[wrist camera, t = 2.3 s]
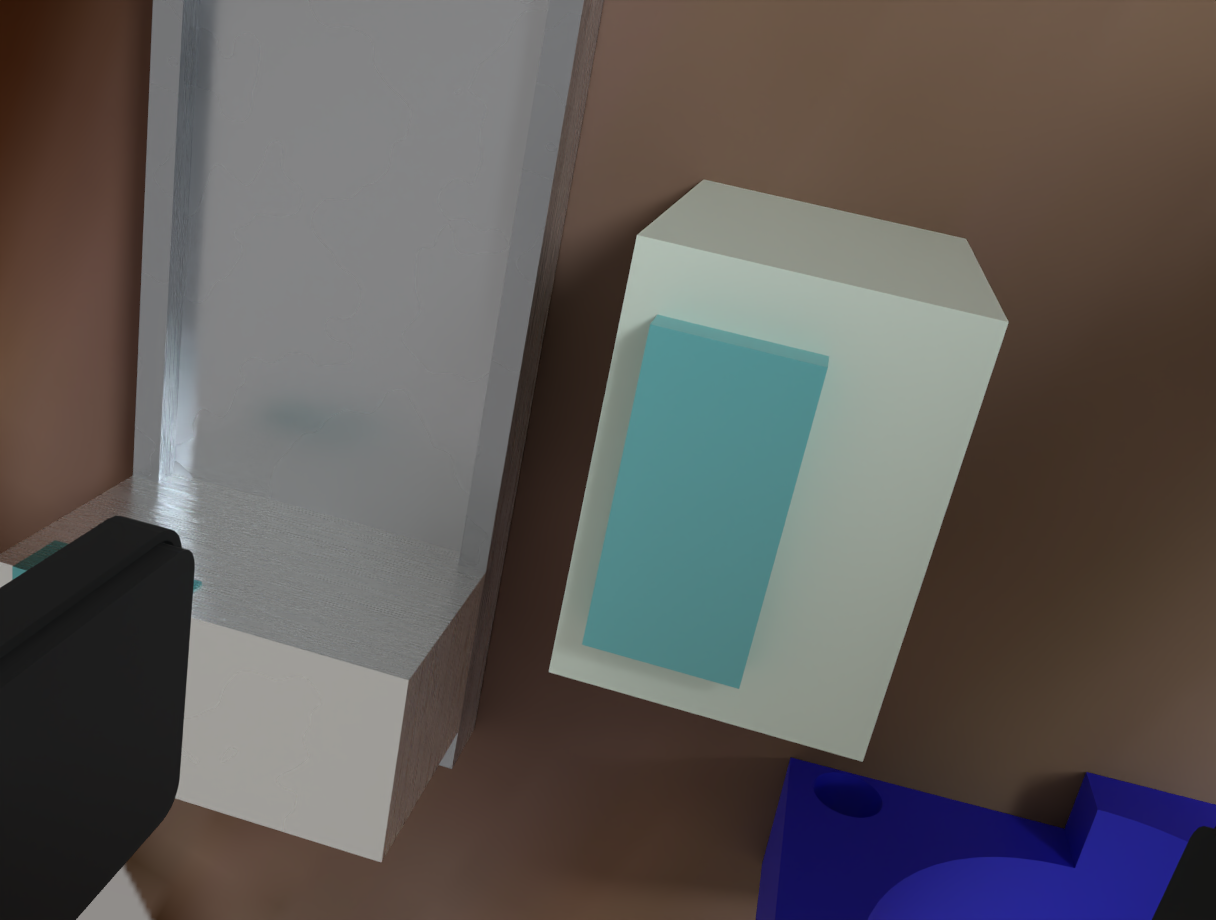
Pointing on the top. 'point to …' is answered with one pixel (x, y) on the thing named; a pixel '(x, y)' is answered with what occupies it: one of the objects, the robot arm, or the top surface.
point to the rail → (341, 377)
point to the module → (774, 461)
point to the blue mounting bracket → (967, 853)
